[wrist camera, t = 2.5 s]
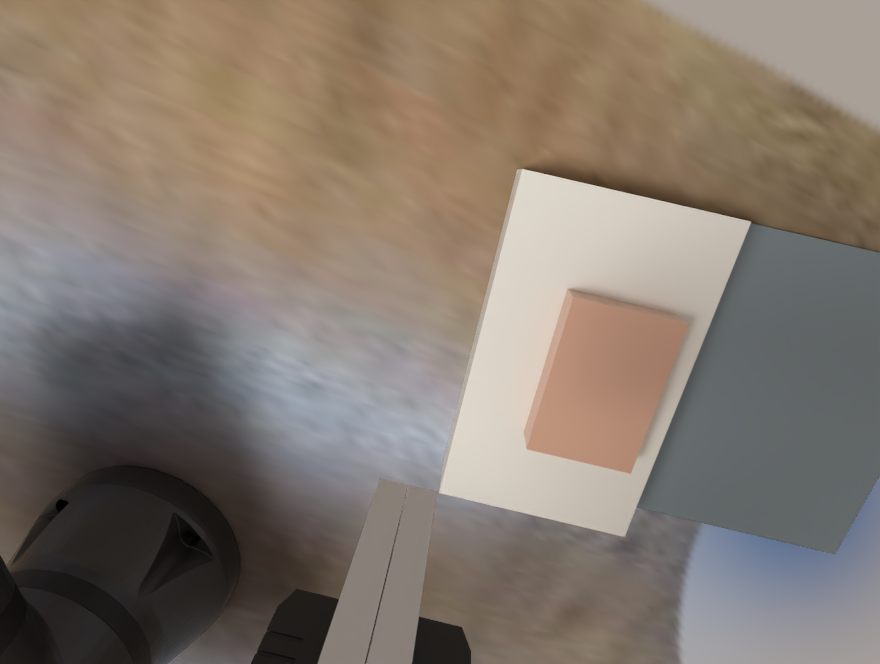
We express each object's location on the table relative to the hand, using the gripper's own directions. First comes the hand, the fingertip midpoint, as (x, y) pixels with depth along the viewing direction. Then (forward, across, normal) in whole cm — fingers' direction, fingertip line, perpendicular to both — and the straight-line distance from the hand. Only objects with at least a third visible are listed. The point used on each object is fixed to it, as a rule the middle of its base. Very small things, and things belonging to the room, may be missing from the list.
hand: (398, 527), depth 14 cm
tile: (+16, -9, 0) cm, 19 cm away
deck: (+20, -8, 0) cm, 22 cm away
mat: (+20, -22, 0) cm, 30 cm away
